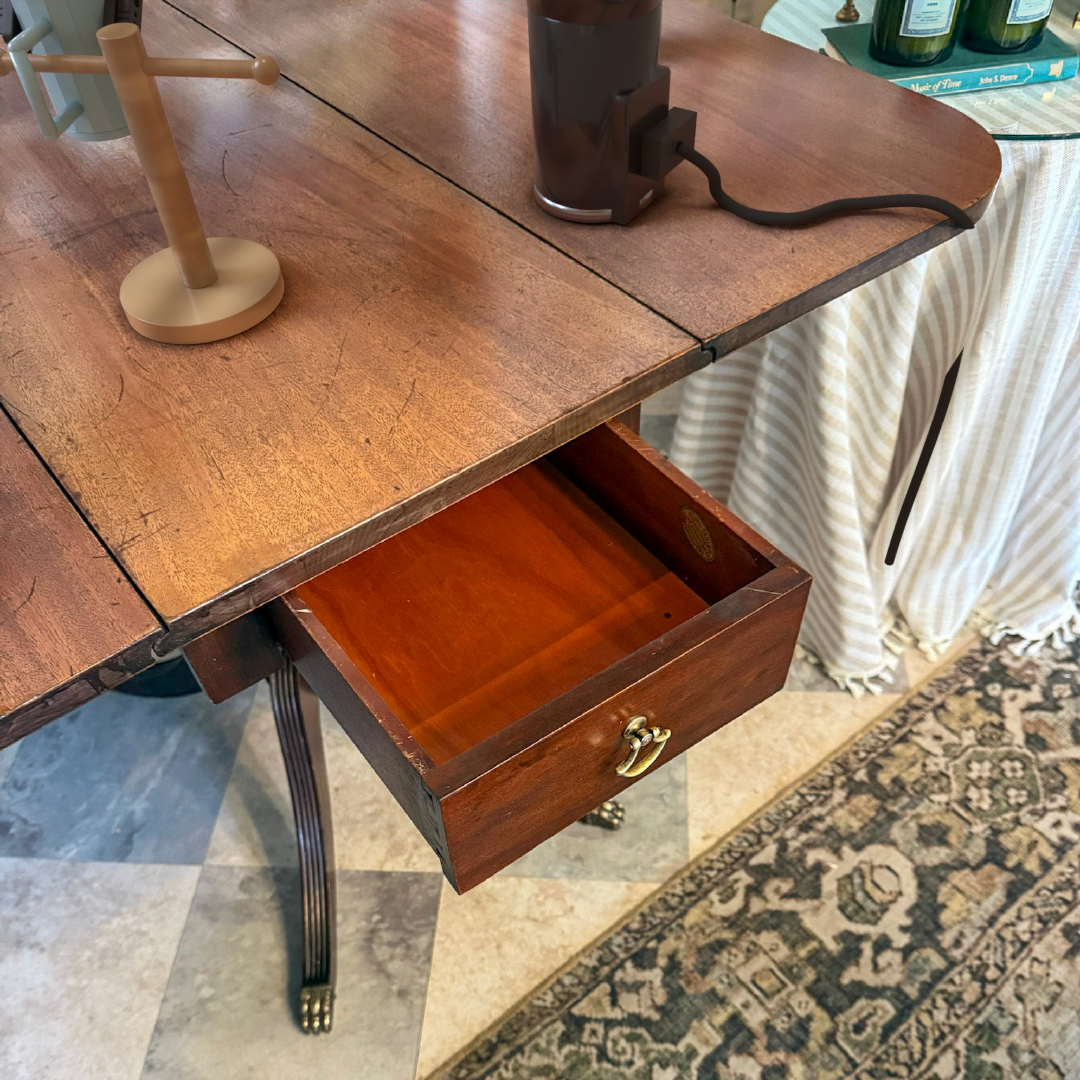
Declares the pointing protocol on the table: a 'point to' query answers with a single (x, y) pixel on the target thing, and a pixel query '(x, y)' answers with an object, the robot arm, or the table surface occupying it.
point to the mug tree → (177, 201)
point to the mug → (78, 99)
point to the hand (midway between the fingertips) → (67, 49)
